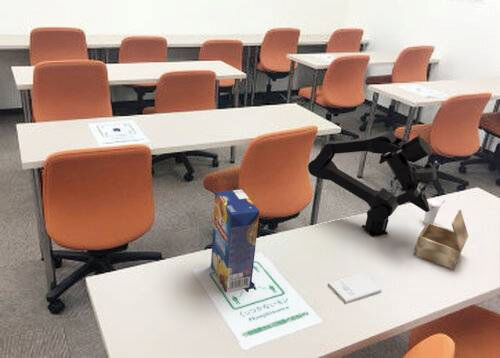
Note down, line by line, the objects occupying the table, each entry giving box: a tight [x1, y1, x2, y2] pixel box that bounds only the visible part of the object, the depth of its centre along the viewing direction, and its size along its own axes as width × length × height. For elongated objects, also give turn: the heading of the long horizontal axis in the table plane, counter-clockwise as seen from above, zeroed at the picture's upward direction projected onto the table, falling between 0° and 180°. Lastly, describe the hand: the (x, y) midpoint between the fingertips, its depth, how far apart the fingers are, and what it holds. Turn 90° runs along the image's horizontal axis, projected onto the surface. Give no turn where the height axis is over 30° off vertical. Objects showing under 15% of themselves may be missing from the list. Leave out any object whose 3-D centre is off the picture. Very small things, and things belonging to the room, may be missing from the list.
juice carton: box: [210, 188, 260, 293], centre depth 123 cm, size 12×8×24 cm, turn 24°
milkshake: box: [423, 198, 445, 225], centre depth 162 cm, size 5×5×10 cm
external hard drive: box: [327, 272, 382, 305], centre depth 128 cm, size 2×8×12 cm
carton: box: [413, 222, 462, 271], centre depth 145 cm, size 12×12×7 cm
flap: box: [451, 209, 469, 252], centre depth 140 cm, size 9×11×1 cm
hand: (428, 211), depth 144 cm, fingers closed
